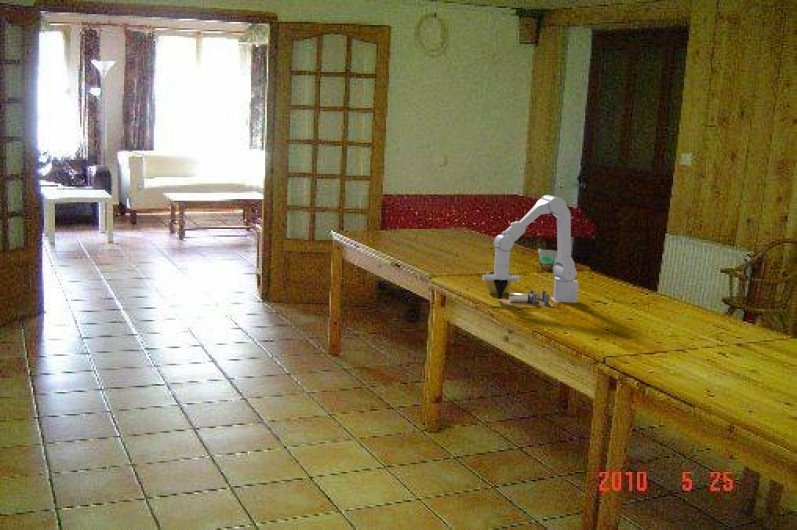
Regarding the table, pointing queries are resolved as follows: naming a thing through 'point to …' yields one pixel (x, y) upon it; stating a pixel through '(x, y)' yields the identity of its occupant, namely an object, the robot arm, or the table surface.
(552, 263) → the food container
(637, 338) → the table surface
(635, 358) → the table surface
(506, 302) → the tile
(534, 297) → the rail
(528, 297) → the tube
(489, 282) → the flower pot
